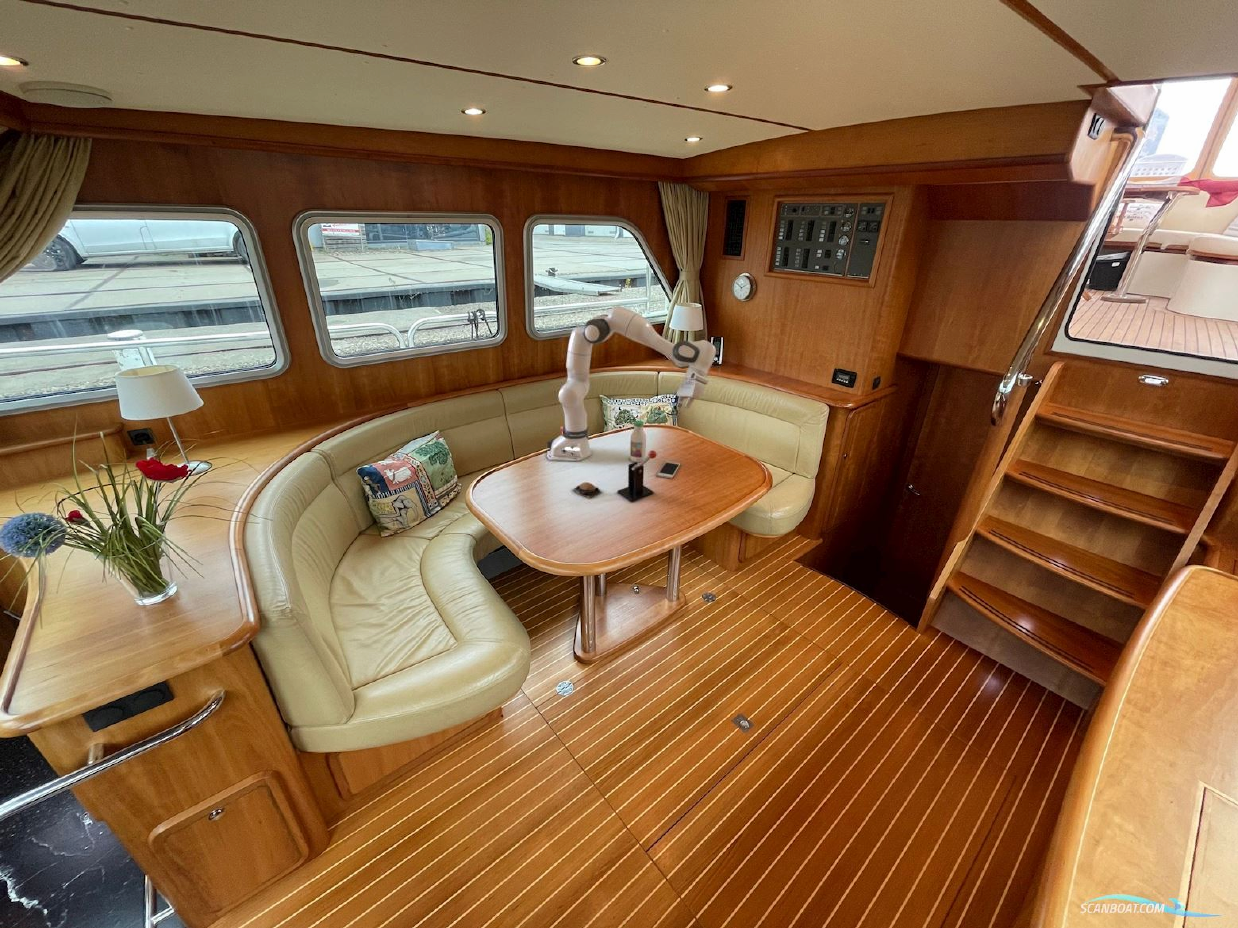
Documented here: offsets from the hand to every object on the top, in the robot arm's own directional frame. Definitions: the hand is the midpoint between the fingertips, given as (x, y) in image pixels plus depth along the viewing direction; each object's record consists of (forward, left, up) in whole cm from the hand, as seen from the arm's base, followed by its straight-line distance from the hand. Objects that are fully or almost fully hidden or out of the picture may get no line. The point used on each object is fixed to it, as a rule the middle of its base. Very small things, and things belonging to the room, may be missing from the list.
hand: (682, 407), depth 208 cm
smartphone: (-3, +7, -34) cm, 35 cm away
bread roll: (-43, -9, -34) cm, 56 cm away
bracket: (-22, -13, -34) cm, 43 cm away
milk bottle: (-16, +21, -34) cm, 43 cm away
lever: (-17, -11, -21) cm, 30 cm away
